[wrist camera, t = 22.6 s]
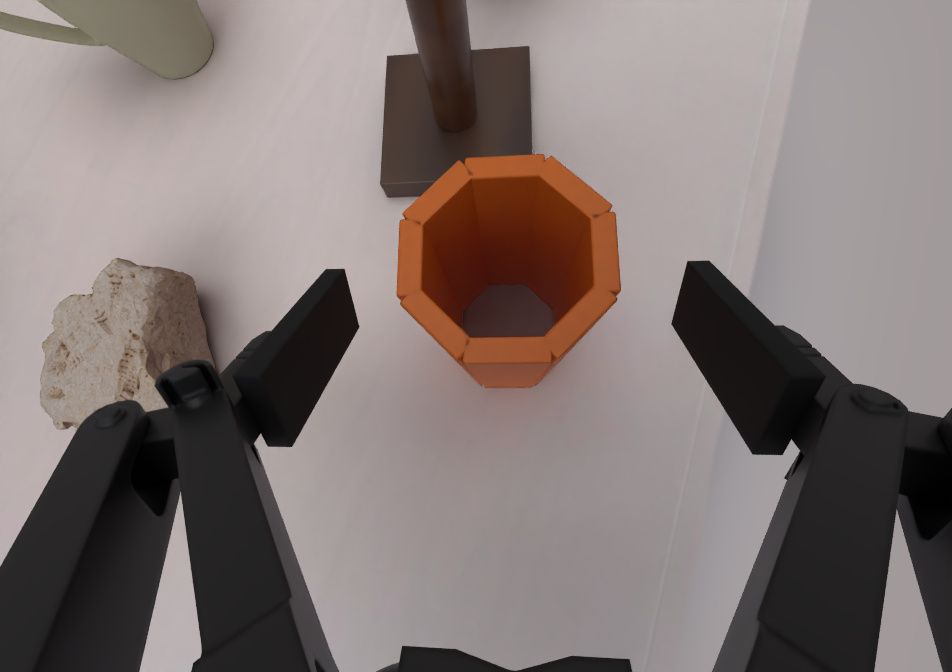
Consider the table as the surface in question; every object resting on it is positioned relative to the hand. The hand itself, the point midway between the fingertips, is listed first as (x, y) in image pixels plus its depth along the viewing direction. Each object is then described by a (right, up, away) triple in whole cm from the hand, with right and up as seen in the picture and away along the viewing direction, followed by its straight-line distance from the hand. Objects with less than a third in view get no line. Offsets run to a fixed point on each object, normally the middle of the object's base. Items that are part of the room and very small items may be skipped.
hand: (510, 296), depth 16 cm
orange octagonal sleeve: (0, -1, +7) cm, 7 cm away
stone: (-19, -3, +9) cm, 22 cm away
